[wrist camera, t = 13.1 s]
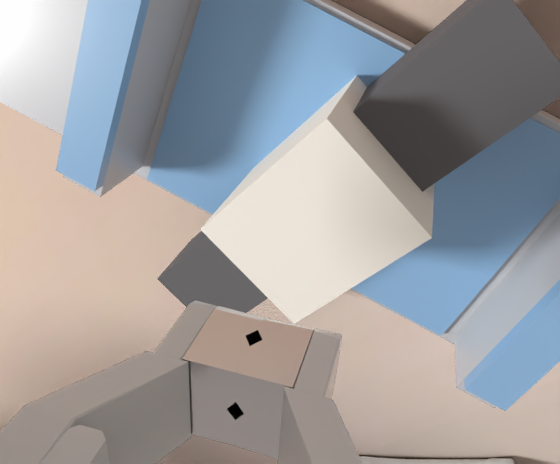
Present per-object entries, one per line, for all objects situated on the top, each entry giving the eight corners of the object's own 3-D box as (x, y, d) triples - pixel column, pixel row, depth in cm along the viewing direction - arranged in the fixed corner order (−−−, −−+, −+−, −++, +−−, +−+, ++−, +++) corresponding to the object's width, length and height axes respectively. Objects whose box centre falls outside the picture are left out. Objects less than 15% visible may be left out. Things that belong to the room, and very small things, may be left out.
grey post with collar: (249, 298, 22) (203, 380, 18) (182, 231, 21) (118, 300, 17) (565, 75, 15) (612, 125, 11) (480, -36, 14) (495, -30, 10)
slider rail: (479, 342, 21) (487, 427, 18) (-197, -18, 22) (-329, -11, 18) (645, 163, 17) (705, 227, 13) (-226, -289, 17) (-414, -355, 14)
